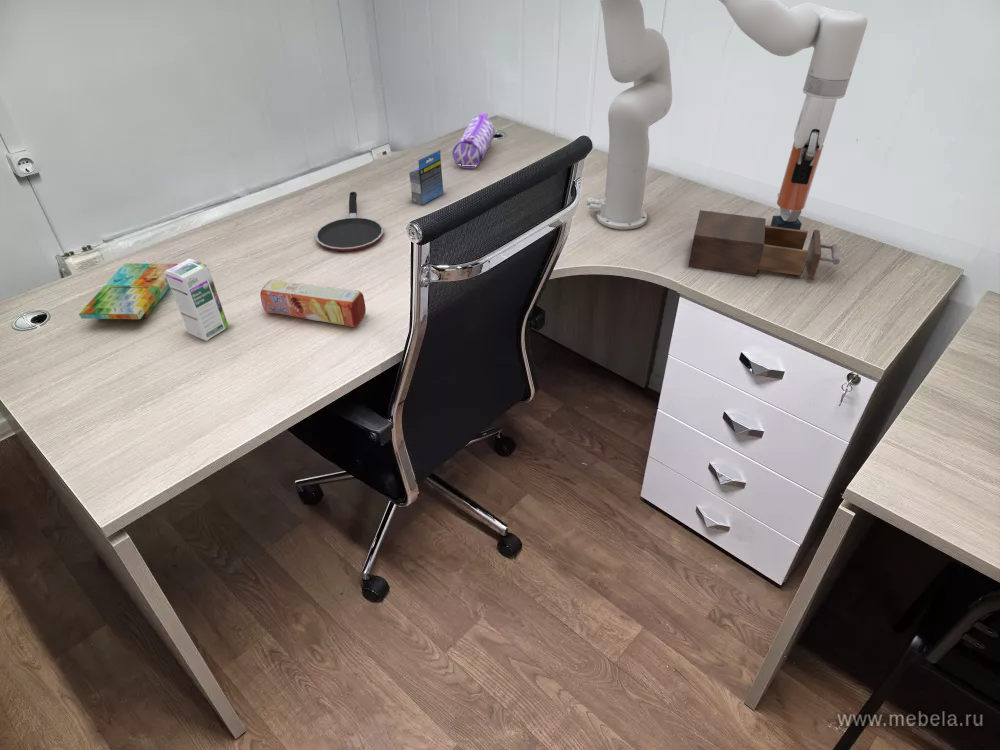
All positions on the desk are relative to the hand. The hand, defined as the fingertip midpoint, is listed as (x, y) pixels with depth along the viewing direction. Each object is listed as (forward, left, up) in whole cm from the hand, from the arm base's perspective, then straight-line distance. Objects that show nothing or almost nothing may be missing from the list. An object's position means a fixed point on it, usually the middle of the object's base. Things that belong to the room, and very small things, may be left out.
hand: (799, 175), depth 139 cm
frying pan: (-101, -11, -21) cm, 104 cm away
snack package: (-89, -49, -22) cm, 104 cm away
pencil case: (-87, +41, -22) cm, 99 cm away
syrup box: (-107, -60, -22) cm, 124 cm away
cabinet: (-11, 0, -21) cm, 24 cm away
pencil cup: (0, 0, -6) cm, 6 cm away
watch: (+2, +18, -22) cm, 28 cm away
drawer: (+3, 0, -20) cm, 21 cm away
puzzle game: (-128, -56, -22) cm, 141 cm away
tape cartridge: (-89, +10, -22) cm, 92 cm away
